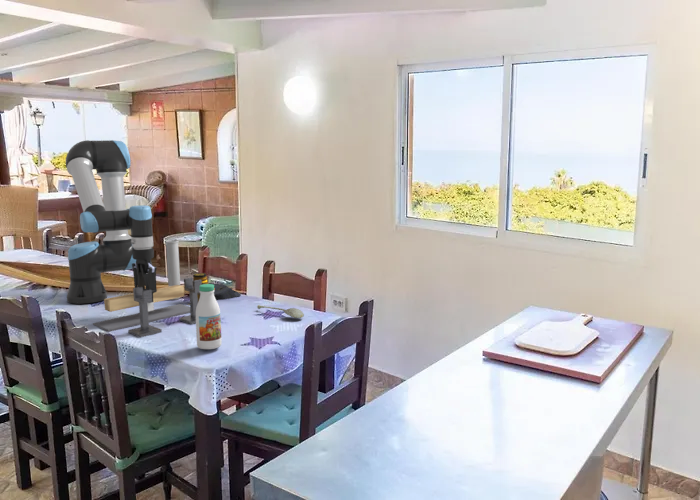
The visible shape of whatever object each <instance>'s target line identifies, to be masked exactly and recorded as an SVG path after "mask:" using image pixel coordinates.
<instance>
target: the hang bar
mask: <svg viewBox="0 0 700 500" xmlns="http://www.w3.org/2000/svg"><path fill="white" fill-rule="evenodd" d="M179 297H180V298H183V297H185V290H184V285H181V284H180V285H174V286H169V287H168V286H165V287H160V288H157V292H155V293H153V302H154V304H155V303H159V302H160V303H161V302H164V301H169V300H171V299H174V298H179ZM180 298H179V299H180ZM103 301H104V302H103V303H104V310H105V311H107V312H108V313H109V312H111V313H112V312H115V311H121V310H125V309H131V308H134V307H139V302H137V301H134V294H133V293H128V294H124V295H118V296H113V297H107V298H106V299H104V300H103Z"/></svg>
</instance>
